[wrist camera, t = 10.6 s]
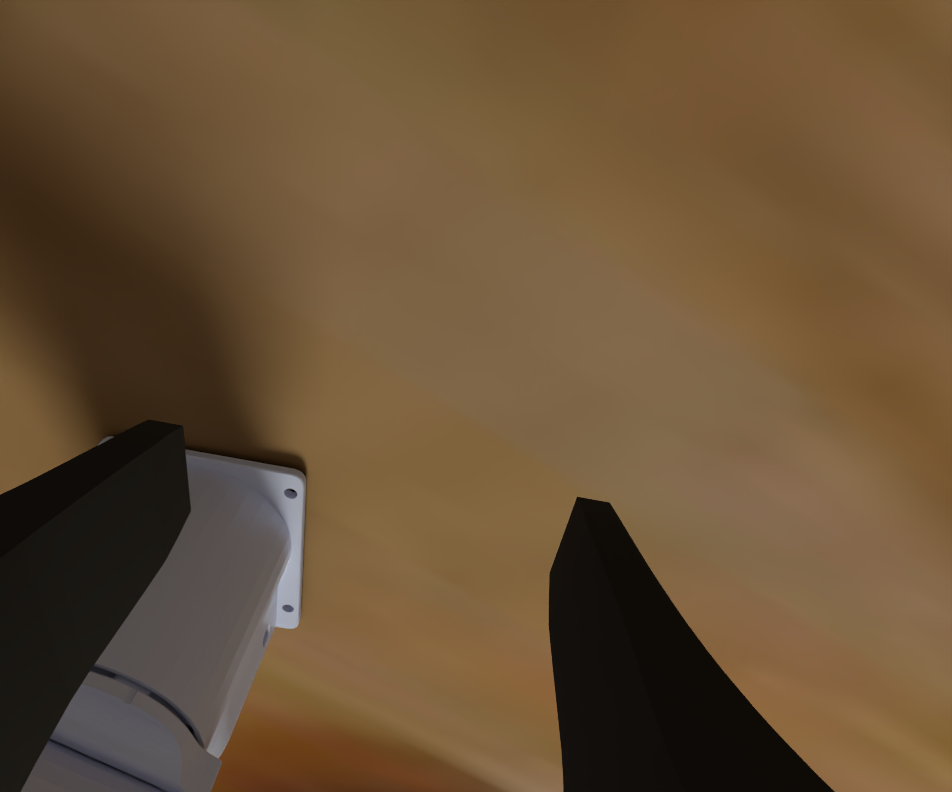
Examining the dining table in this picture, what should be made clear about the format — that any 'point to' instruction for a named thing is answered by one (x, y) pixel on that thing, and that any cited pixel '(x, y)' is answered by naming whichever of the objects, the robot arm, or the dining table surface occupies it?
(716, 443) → the dining table surface
